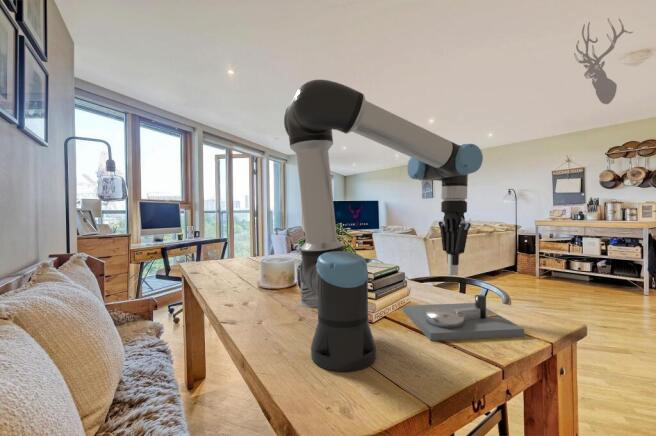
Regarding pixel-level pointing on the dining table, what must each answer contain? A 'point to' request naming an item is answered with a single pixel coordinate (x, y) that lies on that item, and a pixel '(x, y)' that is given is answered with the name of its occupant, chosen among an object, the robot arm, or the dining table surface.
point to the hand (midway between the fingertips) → (452, 274)
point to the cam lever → (456, 314)
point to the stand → (472, 328)
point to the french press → (308, 297)
